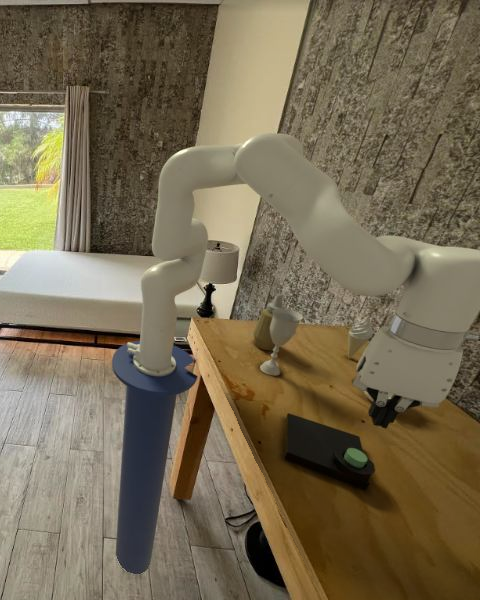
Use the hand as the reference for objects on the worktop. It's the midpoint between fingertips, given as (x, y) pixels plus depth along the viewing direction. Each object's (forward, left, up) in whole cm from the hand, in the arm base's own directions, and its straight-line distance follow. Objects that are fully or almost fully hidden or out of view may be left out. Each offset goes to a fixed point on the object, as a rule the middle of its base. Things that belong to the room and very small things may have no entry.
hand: (378, 421), depth 55 cm
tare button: (0, 0, -11) cm, 11 cm away
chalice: (-15, +29, -14) cm, 35 cm away
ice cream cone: (+5, +47, -14) cm, 49 cm away
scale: (-4, +4, -14) cm, 15 cm away
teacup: (+9, +28, -14) cm, 32 cm away
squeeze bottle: (-17, +42, -14) cm, 47 cm away
